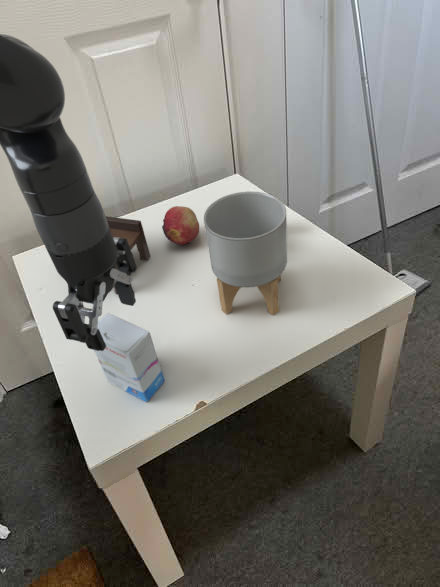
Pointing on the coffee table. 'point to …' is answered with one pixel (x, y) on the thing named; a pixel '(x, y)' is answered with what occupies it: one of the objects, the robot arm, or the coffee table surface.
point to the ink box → (129, 357)
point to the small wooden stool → (129, 235)
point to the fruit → (180, 225)
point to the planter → (247, 245)
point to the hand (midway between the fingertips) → (114, 324)
